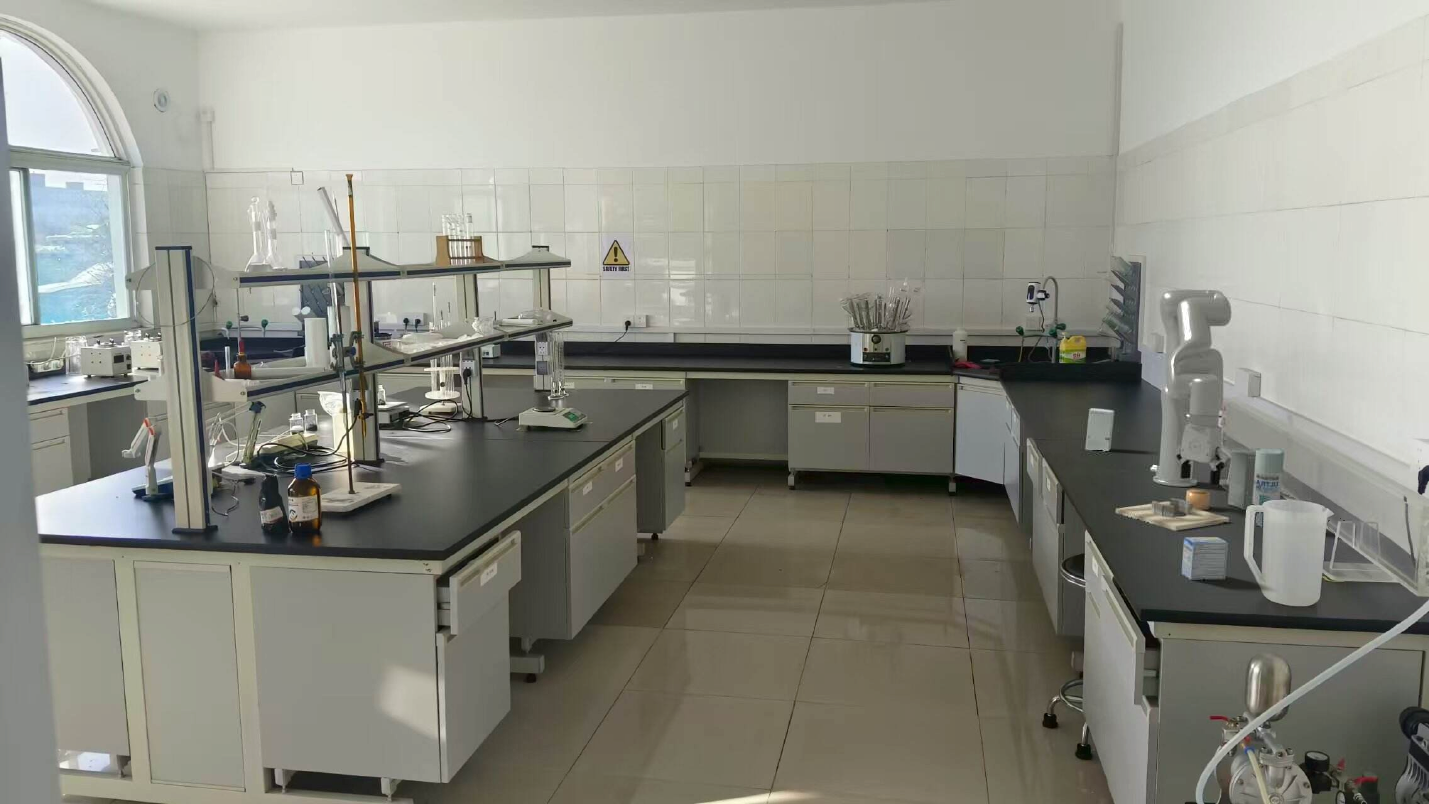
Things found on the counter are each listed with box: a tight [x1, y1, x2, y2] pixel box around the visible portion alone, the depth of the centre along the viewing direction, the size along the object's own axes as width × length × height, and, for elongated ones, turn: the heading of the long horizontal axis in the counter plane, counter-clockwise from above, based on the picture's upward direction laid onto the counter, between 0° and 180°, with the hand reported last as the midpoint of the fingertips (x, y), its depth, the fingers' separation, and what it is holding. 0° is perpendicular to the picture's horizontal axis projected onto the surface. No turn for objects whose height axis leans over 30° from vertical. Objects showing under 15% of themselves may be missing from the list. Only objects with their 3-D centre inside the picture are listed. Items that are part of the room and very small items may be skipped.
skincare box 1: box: [1085, 407, 1115, 452], centre depth 377 cm, size 8×6×15 cm
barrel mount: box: [1115, 497, 1230, 532], centre depth 283 cm, size 20×20×4 cm
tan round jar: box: [1185, 488, 1211, 511], centre depth 294 cm, size 6×6×5 cm
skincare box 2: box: [1227, 450, 1256, 510], centre depth 295 cm, size 8×7×16 cm
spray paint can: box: [1252, 448, 1285, 529], centre depth 274 cm, size 6×6×20 cm
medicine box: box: [1181, 536, 1229, 581], centre depth 231 cm, size 8×4×9 cm, turn 92°
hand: (1199, 481), depth 292 cm, fingers open, 9 cm apart
